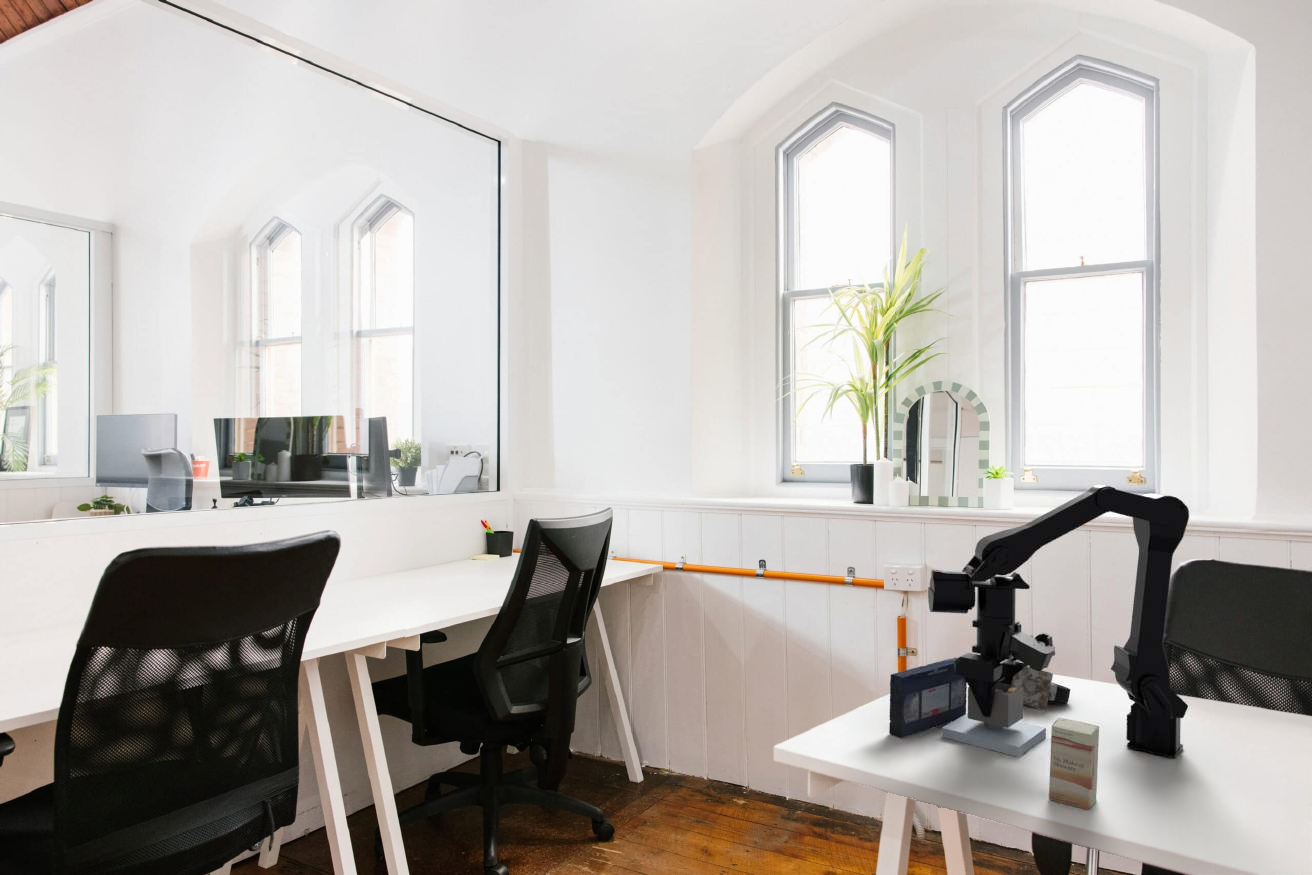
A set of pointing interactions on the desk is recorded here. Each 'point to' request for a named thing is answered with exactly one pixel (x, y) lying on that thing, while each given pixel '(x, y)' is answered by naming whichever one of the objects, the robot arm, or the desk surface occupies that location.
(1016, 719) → the open cubby box
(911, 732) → the vhs cassette tape
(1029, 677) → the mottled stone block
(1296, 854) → the desk surface
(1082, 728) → the skincare box
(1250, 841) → the desk surface
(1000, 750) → the square peg stand
